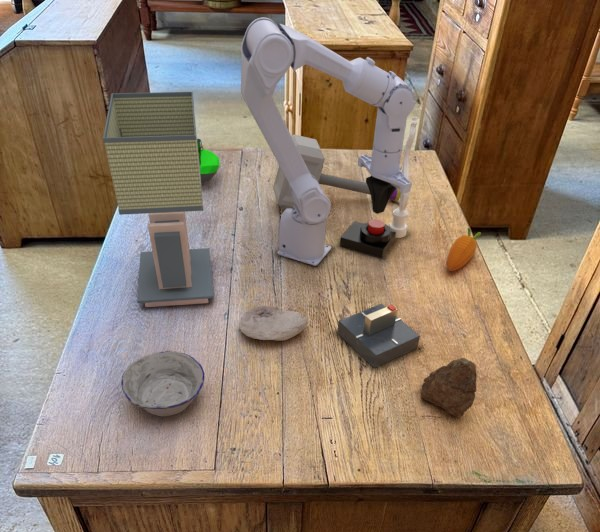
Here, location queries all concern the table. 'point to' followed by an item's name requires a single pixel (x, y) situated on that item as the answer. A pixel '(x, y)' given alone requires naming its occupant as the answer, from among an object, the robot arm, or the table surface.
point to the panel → (378, 338)
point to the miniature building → (207, 163)
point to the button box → (367, 239)
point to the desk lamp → (160, 190)
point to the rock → (452, 386)
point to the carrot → (462, 251)
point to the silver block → (380, 320)
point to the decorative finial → (401, 212)
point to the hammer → (315, 174)
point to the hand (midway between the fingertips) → (378, 211)
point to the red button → (376, 226)
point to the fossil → (272, 323)
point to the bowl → (163, 382)
